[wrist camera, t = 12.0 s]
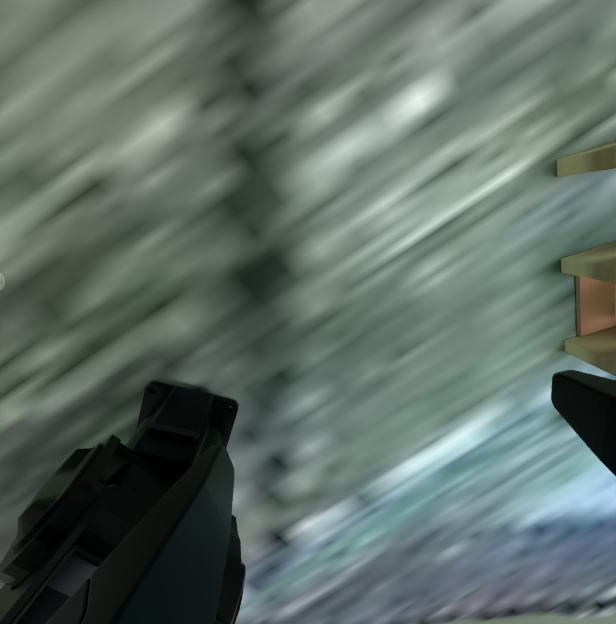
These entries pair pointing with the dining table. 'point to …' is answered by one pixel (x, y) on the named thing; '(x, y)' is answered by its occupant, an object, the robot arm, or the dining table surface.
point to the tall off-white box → (615, 299)
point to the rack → (593, 276)
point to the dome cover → (2, 281)
